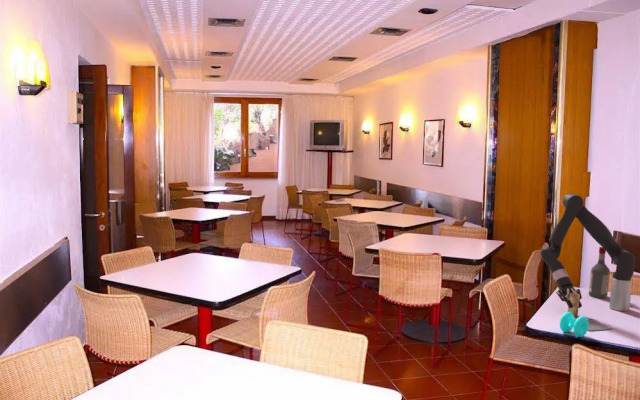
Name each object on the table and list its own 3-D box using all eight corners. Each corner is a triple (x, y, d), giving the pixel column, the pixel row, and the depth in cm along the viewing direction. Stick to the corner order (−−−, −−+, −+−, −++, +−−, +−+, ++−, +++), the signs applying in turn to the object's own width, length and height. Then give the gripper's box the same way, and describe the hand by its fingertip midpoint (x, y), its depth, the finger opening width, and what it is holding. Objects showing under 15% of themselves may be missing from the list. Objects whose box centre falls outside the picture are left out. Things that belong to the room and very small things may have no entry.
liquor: (608, 296, 331) (613, 247, 328) (603, 299, 325) (609, 249, 321) (591, 293, 337) (596, 245, 334) (587, 296, 330) (592, 247, 327)
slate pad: (591, 320, 285) (591, 319, 285) (612, 329, 272) (612, 328, 272) (568, 321, 281) (568, 320, 281) (589, 331, 268) (589, 330, 268)
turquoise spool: (577, 339, 256) (579, 319, 255) (557, 332, 264) (559, 313, 263) (588, 335, 262) (590, 315, 261) (568, 329, 270) (570, 309, 269)
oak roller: (573, 313, 295) (575, 292, 293) (579, 317, 290) (581, 295, 288) (565, 314, 293) (567, 292, 292) (571, 317, 288) (573, 295, 287)
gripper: (554, 276, 294) (568, 304, 284) (577, 275, 298) (591, 303, 288) (547, 283, 300) (560, 311, 290) (569, 282, 304) (583, 310, 294)
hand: (575, 307), depth 289 cm, fingers closed on oak roller, 5 cm apart
